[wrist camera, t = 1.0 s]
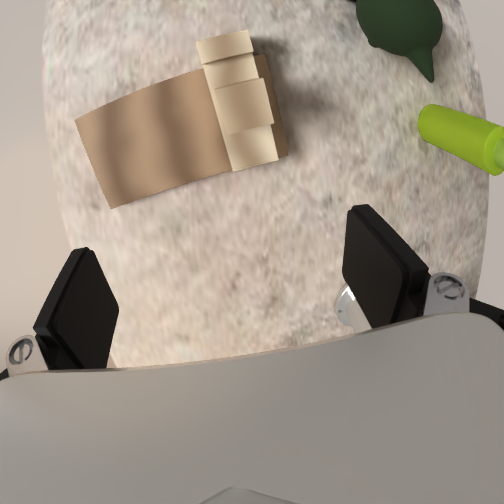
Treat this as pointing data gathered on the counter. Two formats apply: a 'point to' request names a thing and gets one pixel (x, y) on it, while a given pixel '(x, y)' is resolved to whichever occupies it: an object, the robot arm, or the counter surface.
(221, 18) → the counter surface
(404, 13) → the toy figurine
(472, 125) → the soap dispenser
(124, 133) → the walnut board
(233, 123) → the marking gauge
